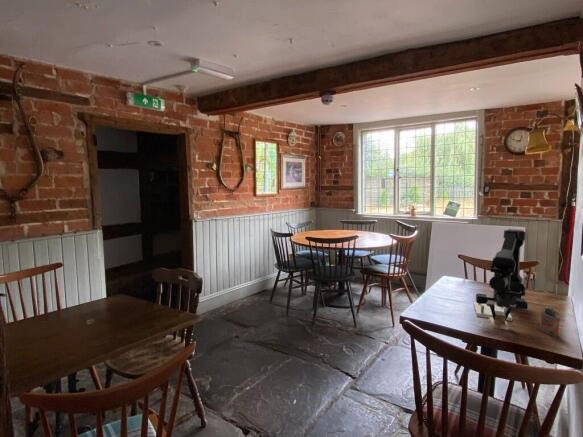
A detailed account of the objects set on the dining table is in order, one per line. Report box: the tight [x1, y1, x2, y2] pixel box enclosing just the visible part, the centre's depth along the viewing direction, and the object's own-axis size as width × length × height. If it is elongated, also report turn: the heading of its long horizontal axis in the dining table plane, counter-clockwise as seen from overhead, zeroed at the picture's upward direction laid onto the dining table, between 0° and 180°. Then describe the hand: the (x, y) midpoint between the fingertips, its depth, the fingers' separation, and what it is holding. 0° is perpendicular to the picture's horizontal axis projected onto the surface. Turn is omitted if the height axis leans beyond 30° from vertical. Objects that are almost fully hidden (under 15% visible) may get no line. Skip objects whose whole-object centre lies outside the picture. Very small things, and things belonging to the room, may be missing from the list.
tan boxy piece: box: [488, 311, 510, 331], centre depth 152 cm, size 6×9×5 cm, turn 160°
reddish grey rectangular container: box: [539, 306, 561, 337], centre depth 145 cm, size 8×3×10 cm, turn 5°
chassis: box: [473, 301, 513, 322], centre depth 167 cm, size 14×16×4 cm
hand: (499, 320), depth 152 cm, fingers closed on tan boxy piece, 4 cm apart
